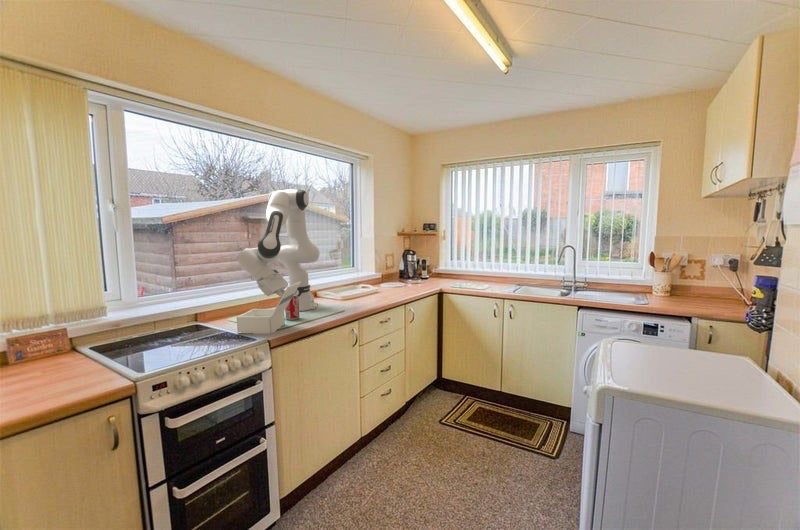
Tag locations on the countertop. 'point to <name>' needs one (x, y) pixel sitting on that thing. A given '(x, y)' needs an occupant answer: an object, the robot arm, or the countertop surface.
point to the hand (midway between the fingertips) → (285, 297)
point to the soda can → (292, 308)
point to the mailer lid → (286, 298)
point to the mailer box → (260, 321)
